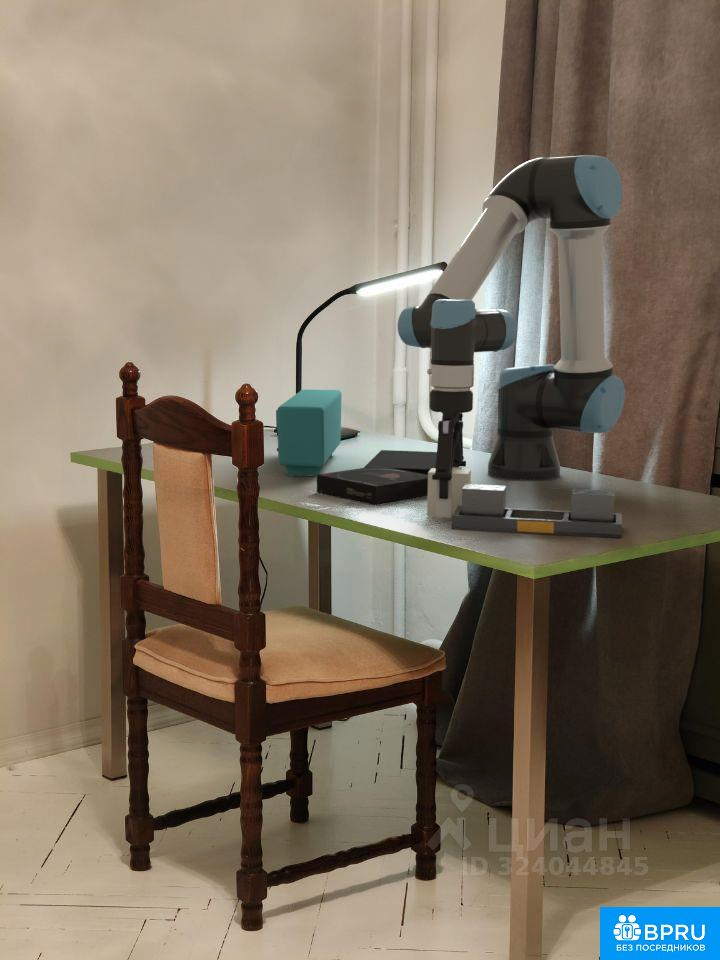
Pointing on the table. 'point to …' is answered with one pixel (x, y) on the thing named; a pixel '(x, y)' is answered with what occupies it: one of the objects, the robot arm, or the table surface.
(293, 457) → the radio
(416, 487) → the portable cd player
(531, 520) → the rack
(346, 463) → the table surface
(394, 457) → the external hard drive
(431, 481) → the beige rectangular block
